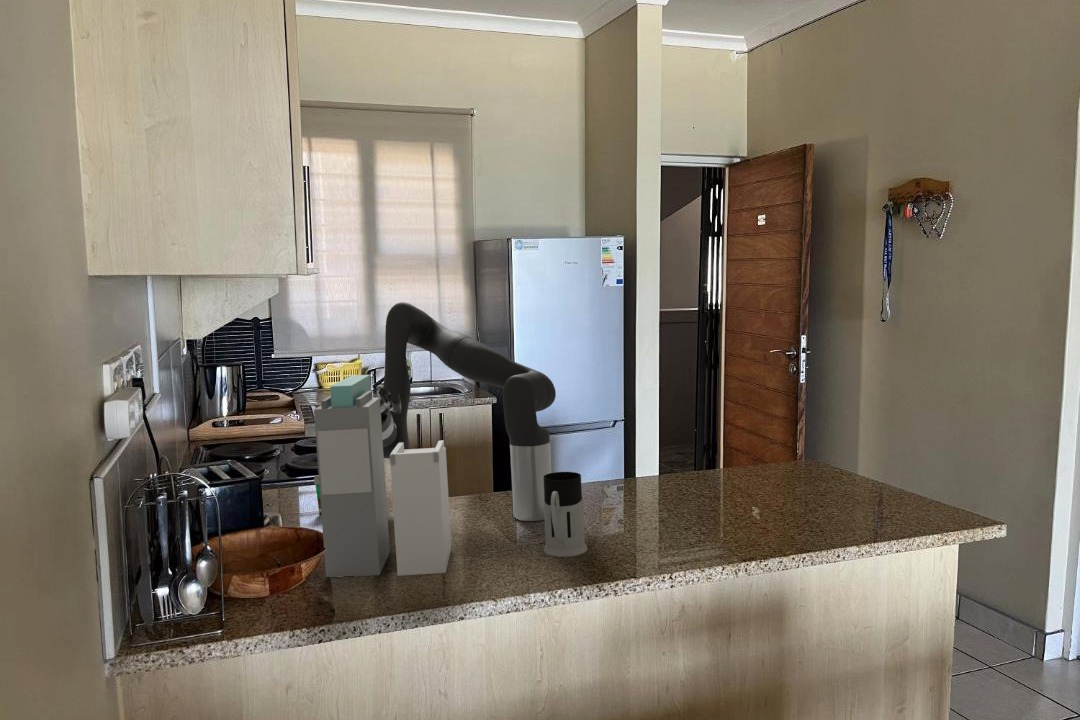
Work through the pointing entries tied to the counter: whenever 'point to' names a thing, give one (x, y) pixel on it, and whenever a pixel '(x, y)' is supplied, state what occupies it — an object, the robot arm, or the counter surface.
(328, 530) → the tall grey pillar
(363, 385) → the teal square bar
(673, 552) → the counter surface
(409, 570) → the white open box
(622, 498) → the counter surface
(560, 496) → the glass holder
